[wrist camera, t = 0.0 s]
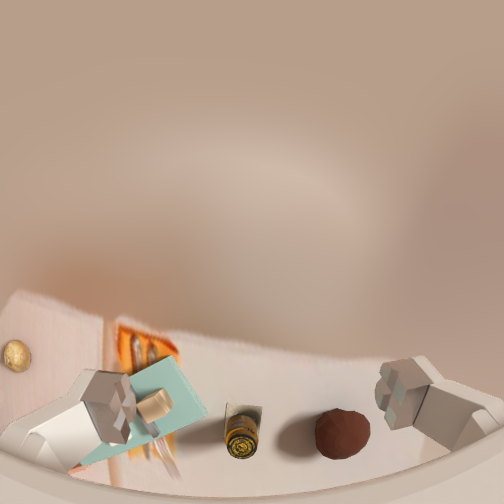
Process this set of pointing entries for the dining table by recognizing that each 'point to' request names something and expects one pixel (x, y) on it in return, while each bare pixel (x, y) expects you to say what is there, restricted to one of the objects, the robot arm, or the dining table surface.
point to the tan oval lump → (17, 356)
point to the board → (178, 417)
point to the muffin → (341, 433)
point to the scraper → (153, 409)
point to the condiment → (242, 429)
